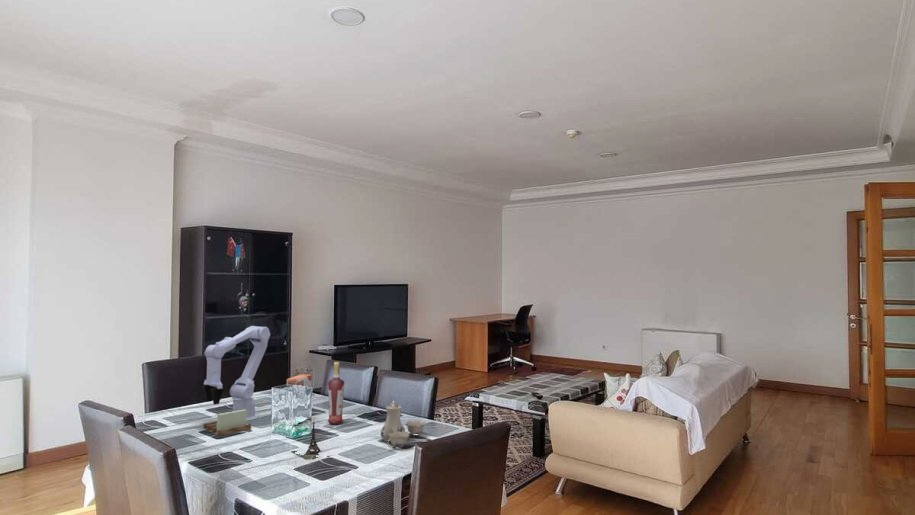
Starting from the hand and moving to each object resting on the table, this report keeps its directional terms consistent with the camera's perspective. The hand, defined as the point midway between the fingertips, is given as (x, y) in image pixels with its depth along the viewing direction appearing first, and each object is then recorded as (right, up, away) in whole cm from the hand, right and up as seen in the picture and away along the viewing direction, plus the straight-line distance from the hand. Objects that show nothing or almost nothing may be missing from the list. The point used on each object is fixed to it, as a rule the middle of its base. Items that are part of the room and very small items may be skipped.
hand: (212, 402), depth 238 cm
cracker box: (+36, -12, +9) cm, 38 cm away
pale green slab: (+13, -10, -9) cm, 18 cm away
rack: (+9, -10, -6) cm, 15 cm away
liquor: (+53, -12, +7) cm, 55 cm away
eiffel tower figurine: (+54, -11, -35) cm, 65 cm away
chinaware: (+86, -11, -17) cm, 88 cm away
